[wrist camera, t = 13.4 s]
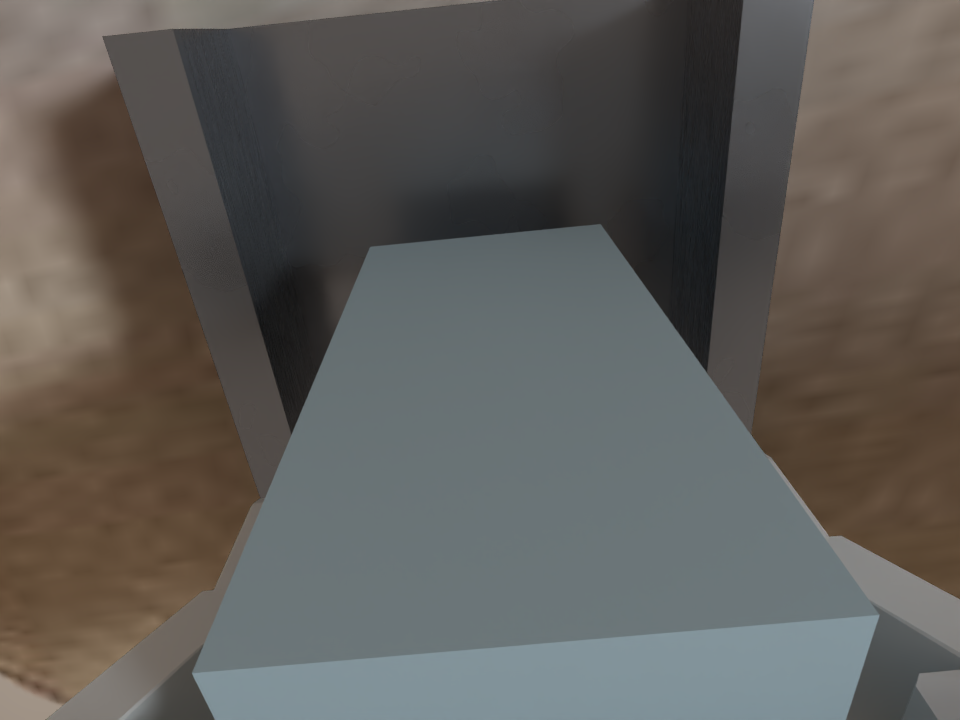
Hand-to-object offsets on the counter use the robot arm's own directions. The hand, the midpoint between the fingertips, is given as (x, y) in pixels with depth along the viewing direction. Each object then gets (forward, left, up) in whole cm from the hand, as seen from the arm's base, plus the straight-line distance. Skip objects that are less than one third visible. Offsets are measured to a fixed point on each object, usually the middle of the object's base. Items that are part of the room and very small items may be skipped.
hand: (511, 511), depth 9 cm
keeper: (0, 0, -6) cm, 6 cm away
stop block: (0, 0, -4) cm, 4 cm away
